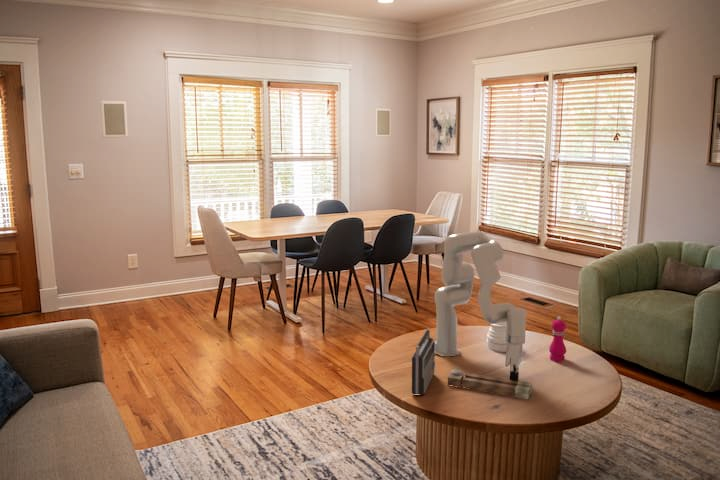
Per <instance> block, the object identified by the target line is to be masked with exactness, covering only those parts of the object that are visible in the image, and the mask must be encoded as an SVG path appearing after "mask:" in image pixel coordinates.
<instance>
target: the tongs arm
mask: <svg viewBox="0 0 720 480" xmlns="http://www.w3.org/2000/svg"><path fill="white" fill-rule="evenodd" d="M464 377H466V378H472V379H478V380H484V381H490V382H496V383H502V384H508V385H514V386H517V385H520V386H525V387H530V395H531V394H532V388H533V383H532V382H528V381H522V380H518V382H517V381H512V380H510V379H506V378H500V377H493V376H487V375H482V374H481V375H480V374H476V373H471V372H466V374H464Z"/></svg>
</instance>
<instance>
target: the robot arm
mask: <svg viewBox="0 0 720 480" xmlns="http://www.w3.org/2000/svg"><path fill="white" fill-rule="evenodd" d="M443 247H444V248H443V251H444V252H443V253H444V254H443V255H444V256H443V261H442V265H441V266H442V267H441V275H440V278H441V279H440V280H441V283H442V284H444V285H445V286H441V287H439V288H438V289H437V290H436V291H435V293H434V301H435V302H434V303H435V308H436V309H435V310H436V312H435V313H436V331H435V332H436V336H435V337H436V339H435V353H437V354H439V355H443V356H453V357H457V356H459V355H460V353H461V349H460V348H458V313H457V312H456V310H455V308H454V307H456V306H460V305H466V304H467V303H469V301H470V300H471V298H472V293H473V286H474V281H475V270H476V273H477V275H478V278H479V280H480V287H479V289H478V295H477V301H478V306H479V309H480V313H481V315H482V317H483V318H484V321H485V322H486V323H487V324H496V323H500V322H505V321H506V342H507V343H508V344H507V350H506V351H505V352H506V353H505V364H504V365H505V367H507V368H508V367H509V380H512V381H517V382H519V369H520V367H519V366H520V364H522V361H523V347H524V346H523V345H524V344H525V343H526V325H527V323H526V321H527V312H526V309H524V308H522V307H517V305H514V304H513V303H511V302H502V303H501V302H500V303H496V304H493V302H492V301H493V300H492V298H491V292H492V289H493V287H494V285H495V284H496V283H498V282H499V281H500V280H501V277H502V276H501V274H500V271H499V268H498V266H497V263H496V262H500V261H501V260H502V259H503V258H504V255H505V253H504V248H503V247H502V246H501V244H500V243H499V242H497V240H496V239H493V238H492V237H491V236H489V235H488V234H487V233H484V232H482V231H469V232H460V233H452V234H450V235H448V236H447V237H446V238H445V241H444V244H443ZM463 253H470V254H471V255H470V256H471V258H472V262H473V264H474V267H475V269H474V267H473V265H471V264H470V263H468V262H463V261H464V255H463ZM456 355H457V356H456Z"/></svg>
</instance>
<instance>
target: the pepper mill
mask: <svg viewBox="0 0 720 480" xmlns="http://www.w3.org/2000/svg"><path fill="white" fill-rule="evenodd" d="M551 328H552V334H553V339H552V341H551V343H550V346H549V349H548V351H549V353H550V355H549V360H551V361H552V362H557V363H562V362H565V354H566V353H567V348H566V346H565V342H564V335H565V330H566V328H567V324H566V322H565V321H564V320H562V317H561V316H558V317H556V319H555V320H553V322H552V323H551Z"/></svg>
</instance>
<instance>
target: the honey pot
mask: <svg viewBox="0 0 720 480" xmlns="http://www.w3.org/2000/svg"><path fill="white" fill-rule="evenodd" d="M489 324H490V323H489ZM507 344H508V343H507V342H506V321H505V322H500V323H496V324H490V327H489V330H488V332H487V334H486V348H488V349H489V350H492V351H496V352H506V350H507Z"/></svg>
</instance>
